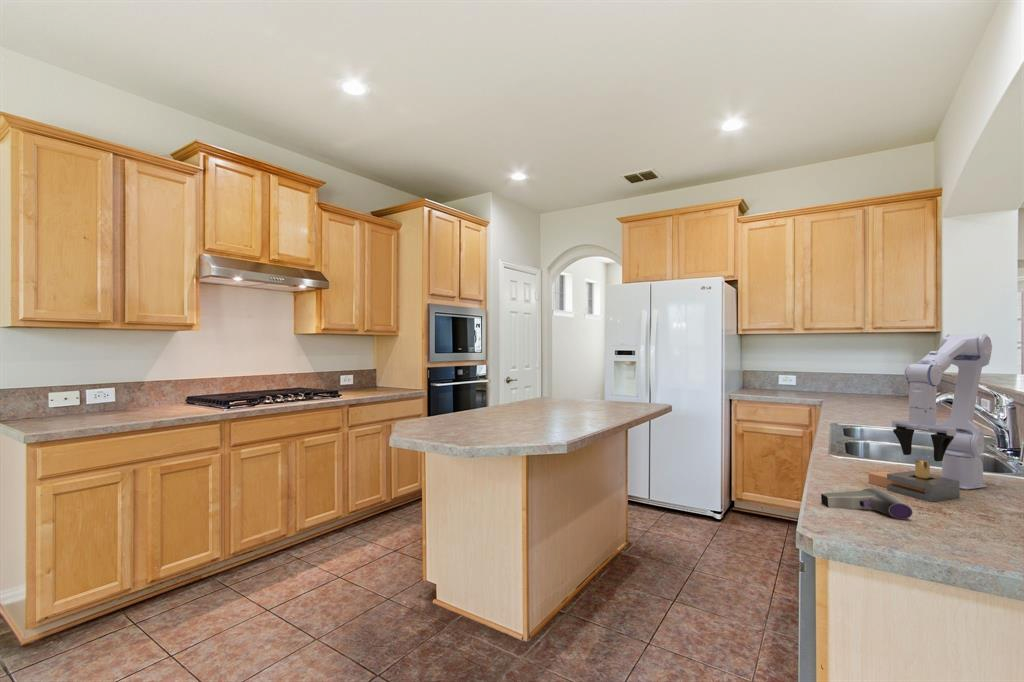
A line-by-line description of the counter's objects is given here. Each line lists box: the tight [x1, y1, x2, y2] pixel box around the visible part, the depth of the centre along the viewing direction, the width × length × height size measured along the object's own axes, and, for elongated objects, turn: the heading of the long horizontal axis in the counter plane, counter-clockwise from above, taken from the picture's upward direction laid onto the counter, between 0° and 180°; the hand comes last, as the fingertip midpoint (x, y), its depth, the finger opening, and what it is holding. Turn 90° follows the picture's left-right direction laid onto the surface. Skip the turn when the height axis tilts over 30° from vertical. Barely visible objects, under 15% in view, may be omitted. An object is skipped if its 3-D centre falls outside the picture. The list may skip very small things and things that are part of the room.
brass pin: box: [914, 459, 931, 480], centre depth 133 cm, size 3×3×9 cm
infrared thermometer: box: [820, 487, 914, 520], centre depth 119 cm, size 5×12×15 cm
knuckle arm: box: [868, 471, 925, 492], centre depth 137 cm, size 7×16×3 cm, turn 18°
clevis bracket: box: [886, 470, 961, 503], centre depth 133 cm, size 11×11×4 cm
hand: (922, 457), depth 133 cm, fingers open, 7 cm apart
